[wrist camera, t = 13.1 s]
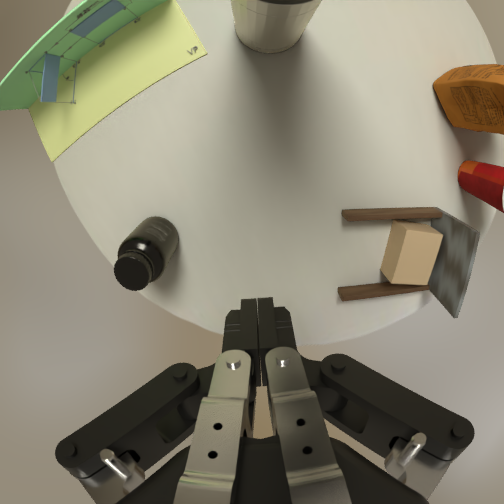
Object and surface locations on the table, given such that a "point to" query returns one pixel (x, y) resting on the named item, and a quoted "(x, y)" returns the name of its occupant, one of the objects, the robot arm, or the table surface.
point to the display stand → (97, 65)
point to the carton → (410, 253)
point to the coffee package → (473, 97)
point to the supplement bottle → (145, 253)
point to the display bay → (446, 264)
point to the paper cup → (483, 182)
